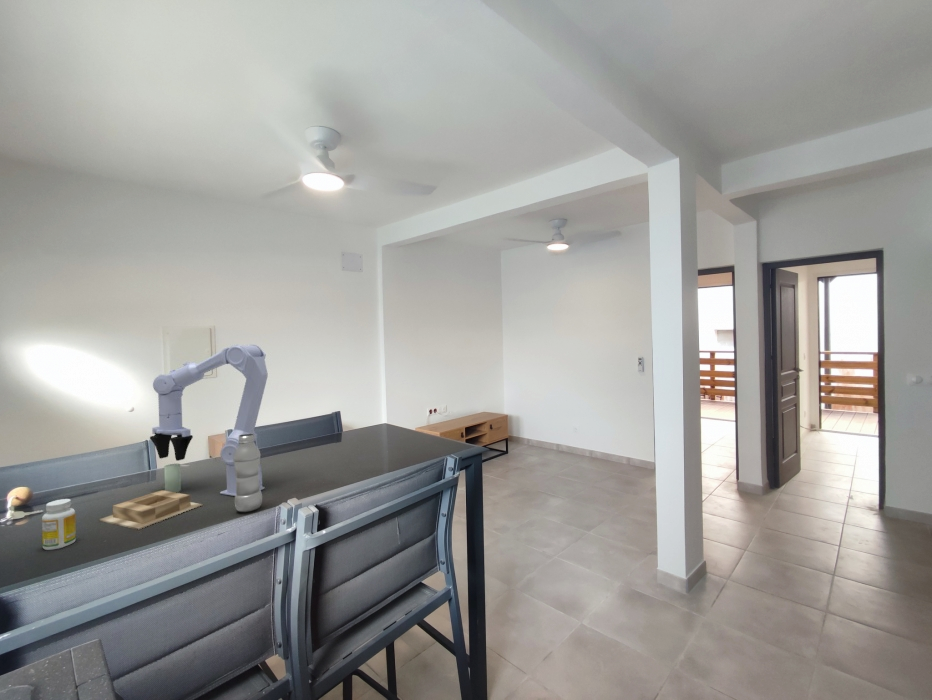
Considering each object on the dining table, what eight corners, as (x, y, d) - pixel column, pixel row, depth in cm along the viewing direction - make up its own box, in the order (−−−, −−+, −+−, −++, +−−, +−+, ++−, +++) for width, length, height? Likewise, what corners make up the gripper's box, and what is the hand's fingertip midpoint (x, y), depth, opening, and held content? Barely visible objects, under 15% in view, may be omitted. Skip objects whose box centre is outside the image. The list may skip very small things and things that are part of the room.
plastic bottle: (268, 506, 114) (266, 433, 114) (247, 516, 108) (245, 438, 108) (249, 504, 117) (247, 431, 116) (228, 513, 110) (226, 437, 110)
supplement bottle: (44, 553, 91) (42, 508, 91) (41, 545, 94) (39, 502, 94) (78, 543, 95) (76, 501, 95) (74, 537, 98) (72, 495, 98)
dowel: (184, 490, 129) (183, 464, 129) (170, 494, 126) (169, 467, 126) (175, 488, 131) (174, 463, 131) (162, 493, 127) (161, 466, 127)
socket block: (202, 505, 116) (202, 493, 116) (139, 530, 101) (138, 515, 101) (164, 498, 122) (164, 487, 122) (99, 520, 107) (98, 507, 107)
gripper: (141, 415, 127) (142, 460, 127) (172, 417, 122) (174, 464, 122) (165, 411, 134) (166, 454, 134) (196, 413, 128) (198, 458, 128)
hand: (172, 458), depth 128 cm, fingers open, 7 cm apart
